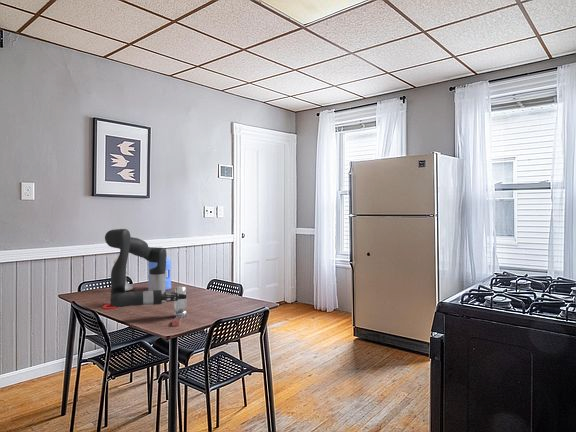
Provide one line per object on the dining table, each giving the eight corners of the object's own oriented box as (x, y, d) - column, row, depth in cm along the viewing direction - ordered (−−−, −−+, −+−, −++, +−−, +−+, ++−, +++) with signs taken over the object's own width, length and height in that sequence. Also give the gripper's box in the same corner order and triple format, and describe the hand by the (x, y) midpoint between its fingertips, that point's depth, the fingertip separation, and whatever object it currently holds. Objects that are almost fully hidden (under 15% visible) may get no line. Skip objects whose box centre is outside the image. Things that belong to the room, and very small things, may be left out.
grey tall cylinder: (175, 309, 218) (175, 288, 218) (174, 307, 223) (174, 286, 223) (186, 308, 220) (186, 287, 220) (184, 306, 225) (185, 286, 225)
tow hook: (116, 309, 237) (120, 305, 246) (115, 287, 236) (120, 283, 245) (100, 310, 235) (105, 305, 245) (100, 287, 235) (105, 284, 244)
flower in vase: (126, 288, 296) (126, 253, 296) (136, 290, 290) (136, 254, 289) (109, 291, 286) (109, 255, 285) (119, 293, 279) (119, 256, 279)
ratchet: (182, 325, 203) (182, 312, 203) (168, 326, 202) (168, 312, 202) (187, 314, 225) (187, 301, 225) (175, 314, 224) (175, 302, 224)
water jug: (149, 292, 284) (149, 251, 283) (147, 288, 298) (147, 249, 298) (172, 290, 290) (172, 250, 290) (169, 286, 305) (169, 248, 304)
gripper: (153, 293, 209) (187, 290, 216) (151, 288, 222) (183, 286, 229) (153, 308, 209) (187, 305, 216) (151, 302, 223) (183, 299, 229)
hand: (185, 295), depth 222 cm, fingers closed on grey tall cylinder, 5 cm apart
